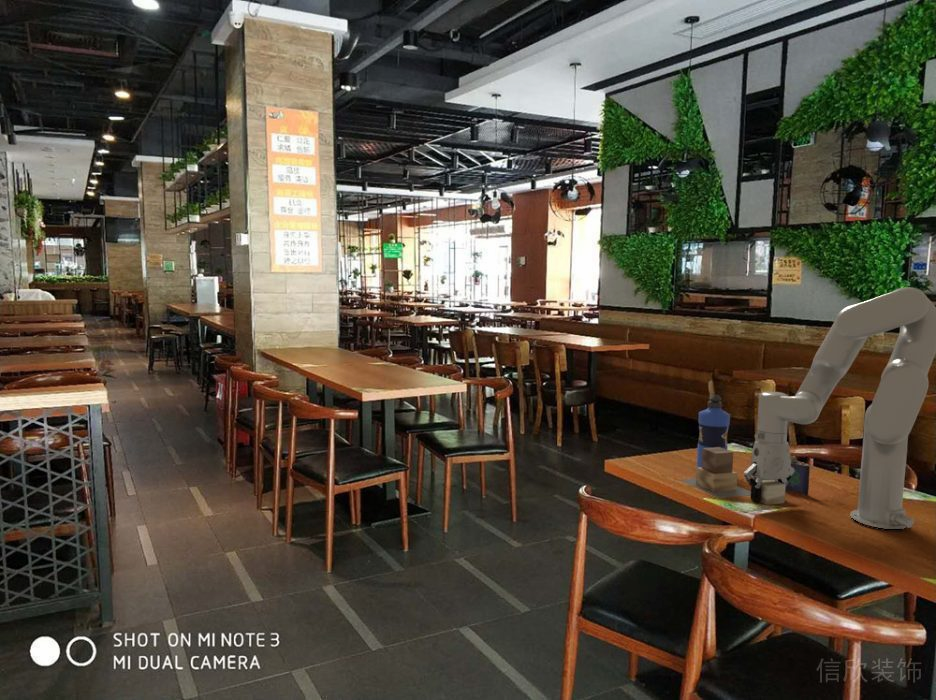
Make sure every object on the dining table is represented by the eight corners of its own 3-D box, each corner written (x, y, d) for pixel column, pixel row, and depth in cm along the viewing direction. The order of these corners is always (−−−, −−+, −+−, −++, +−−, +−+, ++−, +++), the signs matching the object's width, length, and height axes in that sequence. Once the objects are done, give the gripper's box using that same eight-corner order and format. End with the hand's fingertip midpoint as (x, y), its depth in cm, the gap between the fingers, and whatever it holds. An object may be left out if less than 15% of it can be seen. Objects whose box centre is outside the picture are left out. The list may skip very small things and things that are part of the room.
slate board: (757, 497, 189) (757, 494, 189) (719, 501, 185) (719, 498, 185) (715, 478, 206) (715, 476, 206) (679, 482, 202) (679, 479, 202)
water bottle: (694, 473, 212) (698, 396, 209) (696, 466, 220) (700, 391, 218) (726, 477, 208) (730, 398, 206) (727, 469, 217) (731, 393, 214)
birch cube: (784, 505, 182) (785, 484, 182) (766, 507, 181) (767, 486, 180) (768, 499, 188) (769, 478, 187) (750, 500, 186) (752, 480, 186)
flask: (772, 489, 196) (775, 454, 195) (775, 487, 198) (778, 452, 197) (806, 496, 190) (809, 460, 189) (809, 494, 193) (812, 458, 192)
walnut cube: (732, 472, 193) (733, 452, 193) (715, 473, 191) (716, 453, 191) (718, 466, 199) (719, 447, 198) (701, 468, 197) (702, 448, 196)
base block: (736, 489, 193) (737, 473, 193) (713, 492, 191) (714, 475, 190) (718, 481, 201) (719, 465, 200) (695, 483, 198) (696, 467, 198)
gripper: (755, 442, 176) (751, 506, 178) (807, 438, 182) (803, 501, 183) (735, 435, 183) (732, 498, 185) (786, 432, 189) (782, 492, 190)
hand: (767, 499), depth 184 cm, fingers open, 7 cm apart
